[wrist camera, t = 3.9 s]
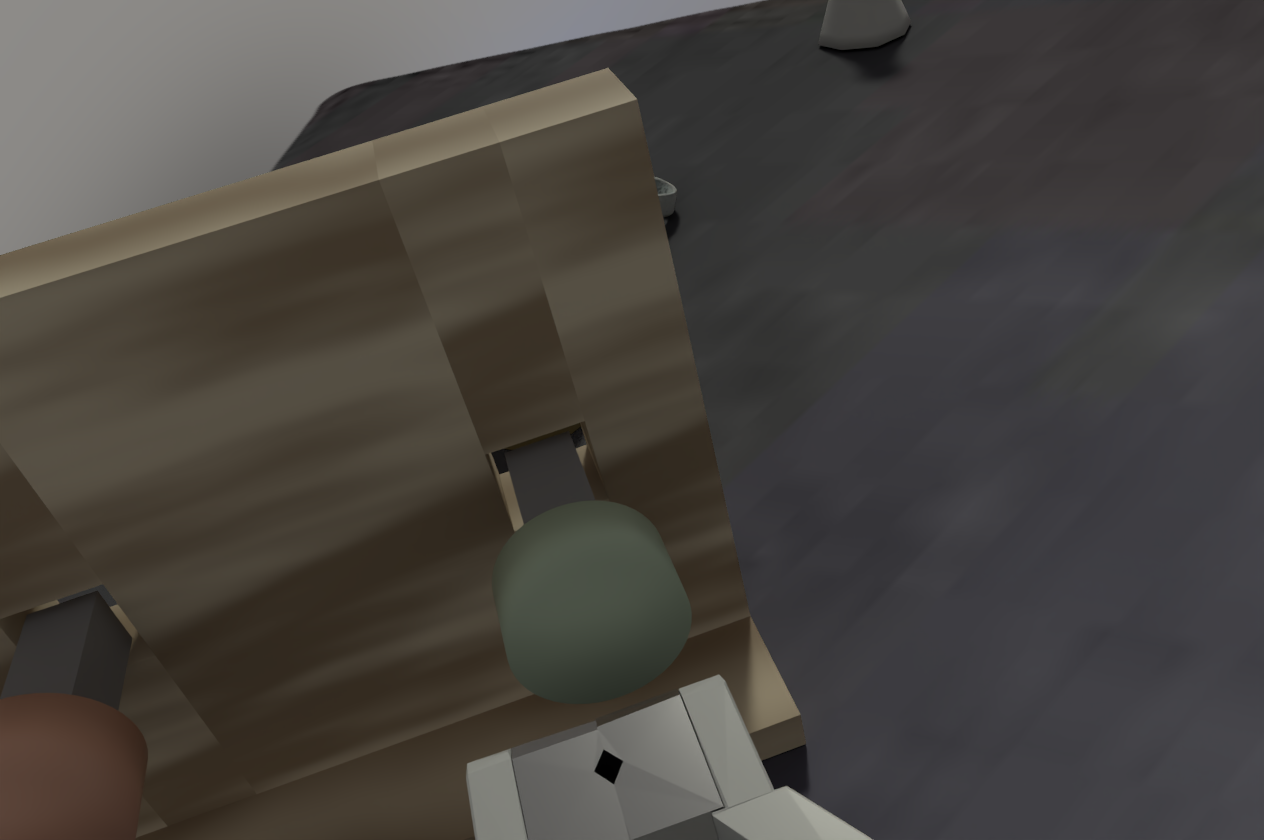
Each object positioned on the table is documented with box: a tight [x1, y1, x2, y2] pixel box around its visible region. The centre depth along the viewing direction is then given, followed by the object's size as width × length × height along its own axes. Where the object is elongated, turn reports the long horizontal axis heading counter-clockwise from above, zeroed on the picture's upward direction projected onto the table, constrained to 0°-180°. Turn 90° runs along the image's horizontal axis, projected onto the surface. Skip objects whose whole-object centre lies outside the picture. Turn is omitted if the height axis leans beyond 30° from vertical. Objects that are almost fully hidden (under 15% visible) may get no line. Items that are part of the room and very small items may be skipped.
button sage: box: [492, 431, 692, 704], centre depth 28 cm, size 7×5×5 cm, turn 15°
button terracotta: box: [0, 591, 148, 840], centre depth 27 cm, size 7×5×5 cm, turn 15°
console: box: [0, 68, 806, 840], centre depth 30 cm, size 10×24×20 cm, turn 105°
